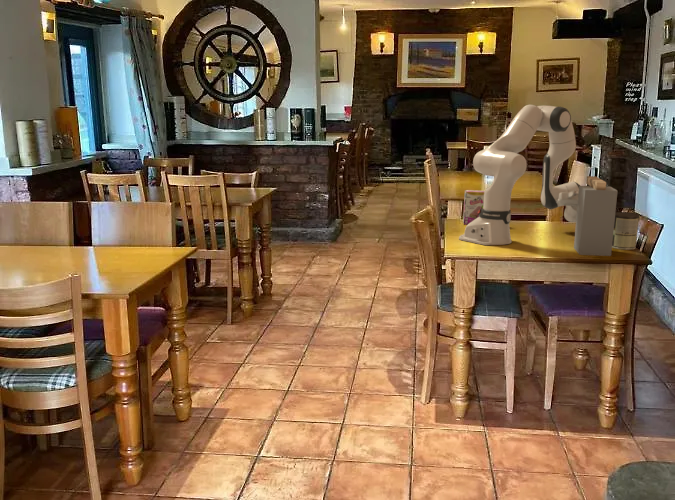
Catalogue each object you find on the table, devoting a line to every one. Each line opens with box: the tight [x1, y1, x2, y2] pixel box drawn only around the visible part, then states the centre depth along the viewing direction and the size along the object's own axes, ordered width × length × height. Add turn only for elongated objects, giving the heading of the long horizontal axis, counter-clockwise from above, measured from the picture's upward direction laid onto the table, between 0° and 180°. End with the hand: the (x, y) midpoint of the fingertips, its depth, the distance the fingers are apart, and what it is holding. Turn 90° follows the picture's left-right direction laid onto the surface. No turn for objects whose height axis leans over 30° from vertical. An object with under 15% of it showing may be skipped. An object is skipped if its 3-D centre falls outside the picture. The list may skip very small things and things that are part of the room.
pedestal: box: [573, 185, 618, 257], centre depth 268 cm, size 12×12×26 cm
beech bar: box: [585, 175, 607, 190], centre depth 269 cm, size 19×4×3 cm, turn 171°
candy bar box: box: [462, 189, 485, 226], centre depth 325 cm, size 11×5×16 cm, turn 84°
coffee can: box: [612, 211, 640, 251], centre depth 278 cm, size 10×10×14 cm
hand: (586, 192), depth 285 cm, fingers open, 8 cm apart
